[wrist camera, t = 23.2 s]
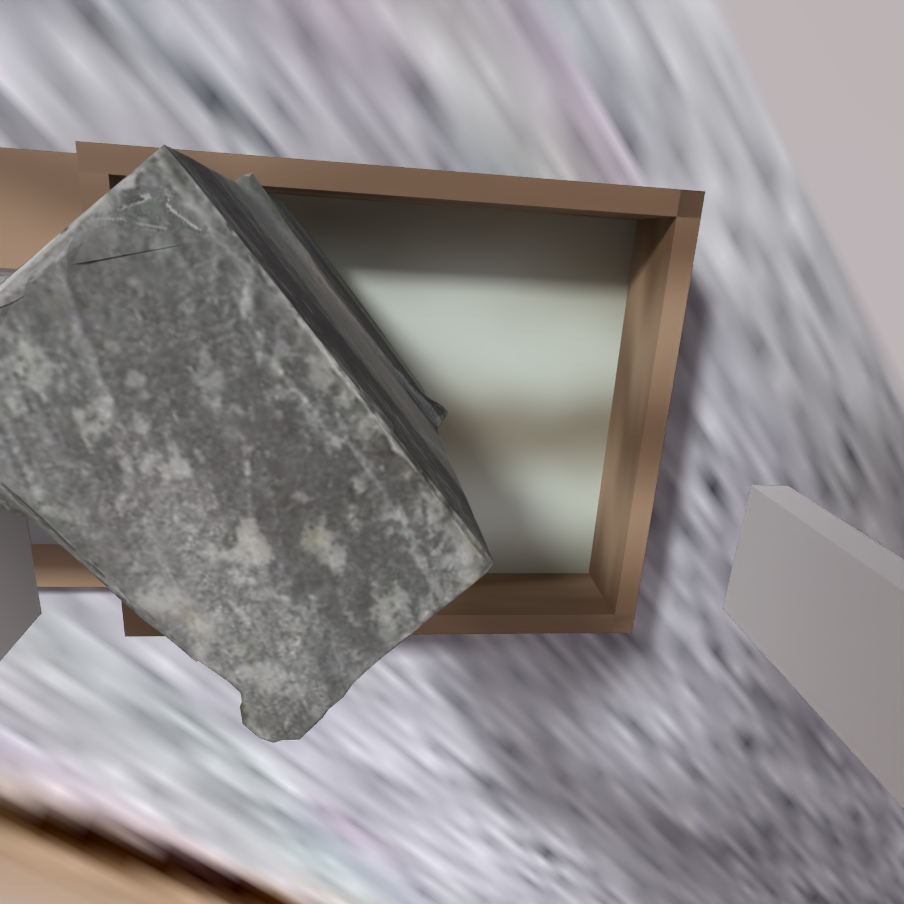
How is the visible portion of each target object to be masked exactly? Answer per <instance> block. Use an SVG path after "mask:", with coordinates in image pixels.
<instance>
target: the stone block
mask: <svg viewBox="0 0 904 904" xmlns="http://www.w3.org/2000/svg"><path fill="white" fill-rule="evenodd" d="M447 414H448V412H447V410H446V409H445V408H444V407H443V406H442V405H440V404H439V403H437V402H435V401H433V400H431V399H430V398H429V397H427V396H426V393H425V391H424V389H423V388H422V387H421V385H420V384H419V383H418V381H417V380H416V378H415V377H414V376H413V374H412V373H411V372H410V370H409V369H408V367H407V366H406V365H405V363H404V362H403V360H402V359H401V358H400V356H399V355H398V354H397V352H396V351H395V349H394V348H393V346H392V345H391V344H390V342H389V341H388V339H387V338H386V336H385V335H384V334H383V332H382V331H381V329H380V328H379V327H378V325H377V324H376V323H375V321H374V320H373V319H372V317H371V316H370V314H369V313H368V312H367V310H366V309H365V308H364V306H363V305H362V304H361V302H360V301H359V300H358V298H357V297H356V296H355V294H354V293H353V292H352V290H351V289H350V288H349V286H348V285H347V284H346V282H345V281H344V280H343V278H342V277H341V276H340V274H339V273H338V272H337V270H336V269H335V268H334V266H333V265H332V264H331V262H330V261H329V260H328V259H327V257H326V256H325V255H324V253H323V252H322V251H321V249H320V248H319V247H318V245H317V244H316V243H315V241H314V240H313V239H312V237H311V236H310V235H309V233H308V232H307V231H306V229H305V228H304V227H303V226H302V224H301V223H300V222H299V220H298V219H297V218H296V216H295V215H294V214H293V212H292V211H291V210H290V208H289V207H288V206H287V205H286V203H284V202H282V201H280V200H277V199H276V198H272V197H271V196H269V195H268V194H267V193H266V191H265V190H264V188H263V187H262V186H261V184H260V183H259V181H258V180H257V178H256V177H255V176H254V174H253V173H249V174H245V175H242V176H241V177H239V178H238V179H236V180H235V181H234V180H232V179H230V178H228V177H225V176H223V175H221V174H219V173H217V172H216V171H214V170H212V169H209V168H207V167H206V166H204V165H202V164H200V163H199V162H197V161H196V160H194V159H192V158H190V157H188V156H186V155H184V154H182V153H180V152H178V151H176V150H174V149H172V148H170V147H167V146H165V145H163V146H162V147H161V148H160V149H158V150H157V151H156V152H155V153H154V154H152V155H151V156H150V157H149V158H148V159H146V160H145V161H144V162H143V163H142V164H141V165H139V166H138V167H137V168H136V169H135V170H133V171H132V172H131V173H130V174H129V175H127V176H126V177H125V178H124V179H123V180H122V181H120V182H119V183H118V184H117V185H116V186H114V187H113V188H112V189H111V190H110V191H109V192H107V193H106V194H105V195H104V196H103V197H102V198H100V199H99V200H98V201H97V202H96V203H94V204H93V205H92V206H91V207H90V208H89V209H87V210H86V211H85V212H84V213H83V214H82V215H80V216H79V217H78V218H77V219H76V220H75V221H73V222H72V223H71V224H70V225H69V226H68V227H66V228H65V229H64V230H63V231H62V232H61V233H59V234H58V235H57V236H56V237H55V238H54V239H53V240H51V241H50V242H49V243H48V244H47V245H46V246H44V247H43V248H42V249H41V250H40V251H39V252H37V253H36V254H35V255H34V256H33V257H31V258H30V259H29V260H28V261H27V262H25V263H24V264H23V265H22V266H21V267H19V268H18V269H17V270H16V271H15V272H13V273H12V274H11V275H10V276H9V277H7V278H6V279H5V280H4V281H3V282H2V283H0V505H1V506H2V507H3V508H4V509H5V510H6V511H8V512H11V513H14V514H16V515H19V516H21V517H24V518H26V519H29V520H31V521H32V522H33V523H35V524H36V525H37V526H39V527H40V528H41V529H42V530H44V531H45V532H46V533H48V534H49V535H50V536H51V537H52V538H53V539H54V540H56V541H57V542H58V543H59V544H60V545H61V546H62V547H63V548H64V549H66V550H67V551H68V552H69V553H70V554H71V555H72V556H73V557H74V558H75V559H77V560H78V561H79V562H80V563H81V564H82V565H83V566H84V567H85V568H86V569H88V570H89V571H90V572H91V573H92V574H93V575H94V576H95V577H96V578H97V579H99V580H100V581H101V582H102V583H103V584H104V585H105V586H106V587H107V588H108V589H110V590H111V591H112V592H113V593H114V594H115V595H116V596H117V597H118V598H119V599H121V600H122V601H123V602H124V603H125V604H126V605H127V606H128V607H129V608H130V609H132V610H133V611H134V612H135V613H136V614H137V615H138V616H139V617H140V618H142V619H143V620H144V621H146V622H147V623H148V624H150V625H151V626H152V627H154V628H155V629H156V630H158V631H159V632H160V633H162V634H163V635H164V636H166V637H167V638H168V639H170V640H171V641H172V642H173V643H175V644H176V645H177V646H178V647H179V648H181V649H182V650H183V651H184V652H185V653H187V654H188V655H189V656H190V657H191V658H192V659H193V660H195V661H196V662H197V661H200V662H201V663H202V664H204V665H205V666H207V667H208V668H210V669H211V670H213V671H214V672H216V673H217V674H218V675H220V676H221V677H223V678H224V679H226V680H227V681H228V682H230V683H231V684H232V685H233V686H234V687H235V688H236V689H237V690H238V691H239V692H240V693H241V698H242V703H241V705H240V709H241V716H242V722H243V724H244V725H245V726H246V727H247V728H248V729H249V730H251V731H252V732H253V733H254V734H255V735H256V736H258V737H259V738H261V739H264V740H267V741H270V742H277V741H280V740H296V739H300V738H302V737H303V736H304V735H305V734H306V733H307V732H308V731H309V730H310V729H311V728H312V727H313V726H314V725H315V724H316V723H317V722H318V721H319V720H320V719H322V718H323V716H324V715H325V713H326V712H327V711H328V709H329V708H330V707H332V706H333V705H334V704H335V703H337V702H338V701H339V700H340V699H342V698H343V697H344V695H345V694H346V692H347V691H348V690H349V688H350V687H351V685H352V684H353V683H354V682H355V681H356V680H357V679H358V678H359V677H360V676H361V675H363V674H364V673H365V672H366V671H367V670H368V669H369V668H370V667H371V666H373V665H374V664H375V663H376V662H377V661H378V660H380V659H381V658H382V657H383V656H384V655H386V654H387V653H388V652H389V651H391V650H392V649H393V648H394V647H396V646H397V645H398V644H399V643H401V642H402V641H403V640H404V639H406V638H407V637H408V636H410V635H411V634H412V633H413V632H415V631H416V630H417V629H418V628H420V627H421V626H422V625H423V624H424V623H425V622H426V621H427V620H428V619H429V618H431V617H432V616H433V615H435V614H436V613H437V612H438V611H440V610H441V609H442V608H443V607H445V606H446V605H447V604H449V603H450V602H451V601H452V600H454V599H455V598H456V597H458V596H459V595H460V594H461V593H463V592H464V591H465V590H466V589H468V588H469V587H470V586H471V585H473V584H474V583H475V582H476V581H477V580H479V579H480V578H481V577H482V576H484V575H485V574H486V573H487V571H488V570H489V569H490V567H491V566H492V565H493V564H494V561H493V559H492V557H491V554H490V552H489V549H488V547H487V545H486V542H485V540H484V538H483V535H482V533H481V531H480V528H479V526H478V524H477V522H476V520H475V517H474V515H473V512H472V510H471V508H470V505H469V503H468V501H467V498H466V496H465V494H464V492H463V490H462V487H461V485H460V482H459V479H458V477H457V475H456V473H455V470H454V468H453V466H452V463H451V461H450V459H449V456H448V454H447V452H446V449H445V447H444V445H443V442H442V440H441V437H440V435H439V432H438V430H437V429H438V428H439V426H440V425H441V423H442V422H443V420H444V419H445V417H446V416H447Z"/></svg>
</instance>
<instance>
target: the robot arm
mask: <svg viewBox="0 0 904 904" xmlns="http://www.w3.org/2000/svg"><path fill="white" fill-rule="evenodd" d="M723 610H724V611H725V612H726V613H727V614H728V615H729V617H730V618H731V619H732V620H733V621H734V622H735V623H736V624H737V625H738V626H739V628H740V629H741V630H742V631H743V632H744V633H745V634H746V635H747V636H748V638H749V639H750V640H751V641H752V642H753V643H754V644H755V645H756V646H757V647H758V649H759V650H760V651H761V652H762V653H763V654H764V655H765V656H766V657H767V658H768V660H769V661H770V662H771V663H772V664H773V665H774V666H775V667H776V668H777V670H778V671H779V672H780V673H781V674H782V675H783V676H784V677H785V678H786V679H787V681H788V682H789V683H790V684H791V685H792V686H793V687H794V688H795V689H796V690H797V692H798V693H799V694H800V695H801V696H802V697H803V698H804V699H805V700H806V702H807V703H808V704H809V705H810V706H811V707H812V708H813V709H814V710H815V711H816V713H817V714H818V715H819V716H820V717H821V718H822V719H823V720H824V721H825V723H826V724H827V725H828V726H829V727H830V728H831V729H832V730H833V731H834V732H835V734H836V735H837V736H838V737H839V738H840V739H841V740H842V741H843V742H844V743H845V745H846V746H847V747H848V748H849V749H850V750H851V751H852V752H853V753H854V755H855V756H856V757H857V758H858V759H859V760H860V761H861V762H862V763H863V764H864V766H865V767H866V768H867V769H868V770H869V771H870V772H871V773H872V774H873V776H874V777H875V778H876V779H877V780H878V781H879V782H880V783H881V784H882V785H883V787H884V788H885V789H886V790H887V791H888V792H889V793H890V794H891V795H892V796H893V798H894V799H895V800H896V801H897V802H898V803H899V804H900V805H901V806H902V808H903V809H904V559H903V558H901V557H900V556H898V555H897V554H895V553H893V552H892V551H890V550H889V549H887V548H885V547H884V546H882V545H881V544H879V543H878V542H876V541H874V540H873V539H871V538H870V537H868V536H866V535H865V534H863V533H862V532H860V531H859V530H857V529H855V528H854V527H852V526H851V525H849V524H848V523H846V522H844V521H843V520H841V519H840V518H838V517H836V516H835V515H833V514H832V513H830V512H829V511H827V510H825V509H824V508H822V507H821V506H819V505H817V504H816V503H814V502H813V501H811V500H810V499H808V498H806V497H805V496H803V495H802V494H800V493H799V492H797V491H795V490H794V489H792V488H791V487H789V486H775V485H751V488H750V492H749V496H748V501H747V505H746V509H745V514H744V518H743V522H742V527H741V531H740V535H739V540H738V544H737V548H736V553H735V557H734V561H733V566H732V570H731V574H730V579H729V583H728V588H727V592H726V596H725V601H724V605H723ZM40 614H41V607H40V601H39V595H38V588H37V582H36V576H35V569H34V563H33V557H32V551H31V544H30V538H29V532H28V525H27V519H26V518H24V517H21V516H19V515H16V514H14V513H11V512H8V511H6V510H5V509H4V508H3V507H2V506H1V505H0V661H1V660H2V659H3V657H4V656H5V655H6V654H7V653H8V651H9V650H10V649H11V648H12V647H13V646H14V644H15V643H16V642H17V641H18V640H19V639H20V637H21V636H22V635H23V634H24V633H25V632H26V630H27V629H28V628H29V627H30V626H31V625H32V623H33V622H34V621H35V620H36V619H37V618H38V616H39V615H40Z"/></svg>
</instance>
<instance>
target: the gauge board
mask: <svg viewBox="0 0 904 904" xmlns="http://www.w3.org/2000/svg"><path fill="white" fill-rule="evenodd" d="M158 149H160V148H154V147H142V146H129V145H117V144H104V143H92V142H79V141H76V150H77V153H65V152H52V151H39V150H26V149H14V148H1V147H0V283H2V282H3V281H4V280H5V279H6V278H7V277H9V276H10V275H11V274H12V273H13V272H15V271H16V270H17V269H18V268H19V267H21V266H22V265H23V264H24V263H25V262H27V261H28V260H29V259H30V258H31V257H33V256H34V255H35V254H36V253H37V252H39V251H40V250H41V249H42V248H43V247H44V246H46V245H47V244H48V243H49V242H50V241H51V240H53V239H54V238H55V237H56V236H57V235H58V234H59V233H61V232H62V231H63V230H64V229H65V228H66V227H68V226H69V225H70V224H71V223H72V222H73V221H75V220H76V219H77V218H78V217H79V216H80V215H82V214H83V213H84V212H85V211H86V210H87V209H89V208H90V207H91V206H92V205H93V204H94V203H96V202H97V201H98V200H99V199H100V198H102V197H103V196H104V195H105V194H106V193H107V192H109V191H110V190H111V189H112V188H113V187H114V186H116V185H117V184H118V183H119V182H120V181H122V180H123V179H124V178H125V177H126V176H127V175H129V174H130V173H131V172H132V171H133V170H135V169H136V168H137V167H138V166H139V165H141V164H142V163H143V162H144V161H145V160H146V159H148V158H149V157H150V156H151V155H152V154H154V153H155V152H156V151H157V150H158ZM174 150H176V151H178V152H180V153H182V154H184V155H186V156H188V157H190V158H192V159H194V160H196V161H197V162H199V163H200V164H202V165H204V166H206V167H207V168H209V169H212V170H214V171H216V172H217V173H219V174H221V175H223V176H225V177H228V178H230V179H232V180H234V181H235V180H236V179H238V178H239V177H241V176H242V175H245V174H249V173H253V174H254V176H255V177H256V178H257V180H258V181H259V183H260V184H261V186H262V187H263V188H264V190H265V191H266V193H267V194H268V195H269V196H271V197H272V198H276V199H277V200H280V201H282V202H284V203H286V205H287V206H288V207H289V208H290V210H291V211H292V212H293V214H294V215H295V216H296V218H297V219H298V220H299V222H300V223H301V224H302V226H303V227H304V228H305V229H306V231H307V232H308V233H309V235H310V236H311V237H312V239H313V240H314V241H315V243H316V244H317V245H318V247H319V248H320V249H321V251H322V252H323V253H324V255H325V256H326V257H327V259H328V260H329V261H330V262H331V264H332V265H333V266H334V268H335V269H336V270H337V272H338V273H339V274H340V276H341V277H342V278H343V280H344V281H345V282H346V284H347V285H348V286H349V288H350V289H351V290H352V292H353V293H354V294H355V296H356V297H357V298H358V300H359V301H360V302H361V304H362V305H363V306H364V308H365V309H366V310H367V312H368V313H369V314H370V316H371V317H372V319H373V320H374V321H375V323H376V324H377V325H378V327H379V328H380V329H381V331H382V332H383V334H384V335H385V336H386V338H387V339H388V341H389V342H390V344H391V345H392V346H393V348H394V349H395V351H396V352H397V354H398V355H399V356H400V358H401V359H402V360H403V362H404V363H405V365H406V366H407V367H408V369H409V370H410V372H411V373H412V374H413V376H414V377H415V378H416V380H417V381H418V383H419V384H420V385H421V387H422V388H423V389H424V391H425V393H426V396H427V397H429V398H430V399H431V400H433V401H435V402H437V403H439V404H440V405H442V406H443V407H444V408H445V409H446V410H447V412H448V414H447V416H446V417H445V419H444V420H443V422H442V423H441V425H440V426H439V428H438V429H437V430H438V432H439V435H440V437H441V440H442V442H443V445H444V447H445V449H446V452H447V454H448V456H449V459H450V461H451V463H452V466H453V468H454V470H455V473H456V475H457V477H458V479H459V482H460V485H461V487H462V490H463V492H464V494H465V496H466V498H467V501H468V503H469V505H470V508H471V510H472V512H473V515H474V517H475V520H476V522H477V524H478V526H479V528H480V531H481V533H482V535H483V538H484V540H485V542H486V545H487V547H488V549H489V552H490V554H491V557H492V559H493V561H494V564H493V565H492V566H491V567H490V569H489V570H488V571H487V573H486V574H485V575H484V576H482V577H481V578H480V579H479V580H477V581H476V582H475V583H474V584H473V585H471V586H470V587H469V588H468V589H466V590H465V591H464V592H463V593H461V594H460V595H459V596H458V597H456V598H455V599H454V600H452V601H451V602H450V603H449V604H447V605H446V606H445V607H443V608H442V609H441V610H440V611H438V612H437V613H436V614H435V615H433V616H432V617H431V618H429V619H428V620H427V621H426V622H425V623H424V624H423V625H422V626H421V627H420V628H418V629H417V630H416V631H415V632H413V633H412V634H516V633H632V629H633V623H634V617H635V611H636V605H637V599H638V593H639V586H640V580H641V574H642V568H643V562H644V556H645V550H646V544H647V538H648V532H649V526H650V520H651V514H652V508H653V502H654V496H655V490H656V484H657V478H658V472H659V466H660V460H661V454H662V448H663V442H664V436H665V430H666V424H667V418H668V412H669V406H670V400H671V394H672V387H673V381H674V375H675V369H676V363H677V357H678V351H679V345H680V339H681V333H682V327H683V321H684V315H685V309H686V303H687V297H688V291H689V285H690V279H691V273H692V267H693V261H694V255H695V249H696V243H697V237H698V231H699V225H700V219H701V213H702V207H703V201H704V195H705V192H704V191H692V190H679V189H667V188H654V187H642V186H629V185H617V184H604V183H592V182H579V181H567V180H554V179H542V178H529V177H517V176H504V175H492V174H479V173H467V172H454V171H442V170H429V169H417V168H404V167H392V166H379V165H367V164H354V163H342V162H329V161H317V160H304V159H292V158H279V157H267V156H254V155H242V154H229V153H217V152H204V151H192V150H179V149H174ZM27 525H28V532H29V538H30V544H31V551H32V557H33V563H34V569H35V576H36V582H37V587H106V586H105V585H104V584H103V583H102V582H101V581H100V580H99V579H97V578H96V577H95V576H94V575H93V574H92V573H91V572H90V571H89V570H88V569H86V568H85V567H84V566H83V565H82V564H81V563H80V562H79V561H78V560H77V559H75V558H74V557H73V556H72V555H71V554H70V553H69V552H68V551H67V550H66V549H64V548H63V547H62V546H61V545H60V544H59V543H58V542H57V541H56V540H54V539H53V538H52V537H51V536H50V535H49V534H48V533H46V532H45V531H44V530H42V529H41V528H40V527H39V526H37V525H36V524H35V523H33V522H32V521H31V520H29V519H27ZM121 601H122V600H121ZM122 611H123V621H124V631H125V636H164V635H163V634H162V633H160V632H159V631H158V630H156V629H155V628H154V627H152V626H151V625H150V624H148V623H147V622H146V621H144V620H143V619H142V618H140V617H139V616H138V615H137V614H136V613H135V612H134V611H133V610H132V609H130V608H129V607H128V606H127V605H126V604H125V603H124V602H123V601H122Z"/></svg>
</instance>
